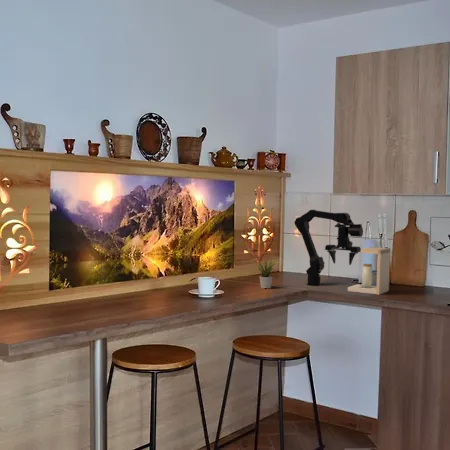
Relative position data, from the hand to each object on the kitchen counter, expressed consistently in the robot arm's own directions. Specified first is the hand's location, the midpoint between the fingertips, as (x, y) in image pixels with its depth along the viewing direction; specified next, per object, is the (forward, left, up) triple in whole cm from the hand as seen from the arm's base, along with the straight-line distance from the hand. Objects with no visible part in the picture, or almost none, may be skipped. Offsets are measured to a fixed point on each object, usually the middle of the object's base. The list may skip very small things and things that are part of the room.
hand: (342, 264), depth 359 cm
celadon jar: (+14, -5, -13) cm, 19 cm away
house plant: (-37, -18, -13) cm, 43 cm away
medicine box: (+14, +18, -13) cm, 26 cm away
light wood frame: (+14, -5, -13) cm, 20 cm away
